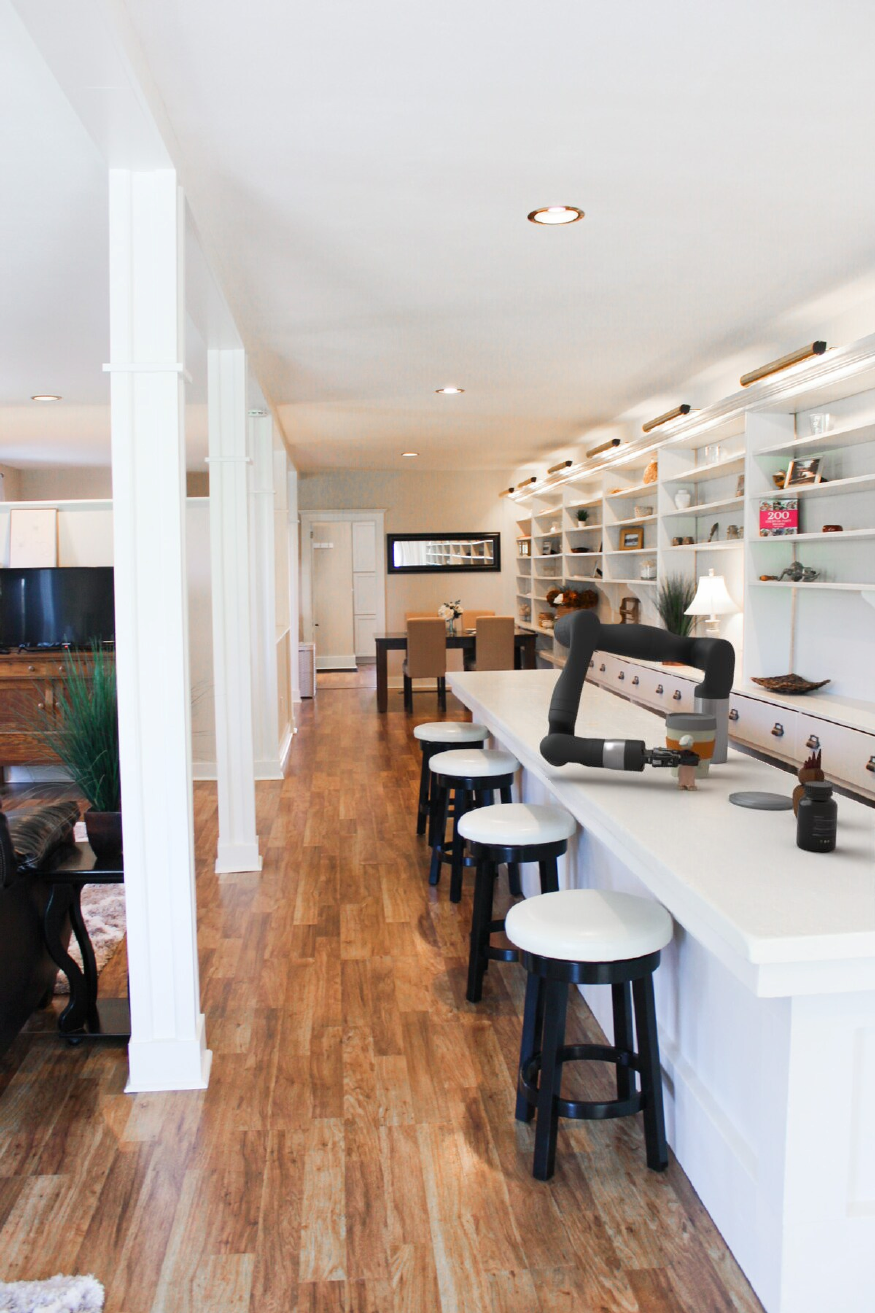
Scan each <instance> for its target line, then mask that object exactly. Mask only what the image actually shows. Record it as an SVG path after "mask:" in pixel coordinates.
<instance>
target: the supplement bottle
mask: <svg viewBox="0 0 875 1313" xmlns="http://www.w3.org/2000/svg"><path fill="white" fill-rule="evenodd" d="M833 789H834V788H833V784H831V783H828V782H825V781H824V782H806V783H805V785H804V794H805V796H803V797H801V798H800V799H799V801H798V811H797V818H796V835H795V836H796V837H795V841H796V842H795V843H796V846H797V848H799V849H801V850H803V851H806V852H809V853H816V854H827V853H832V852H834V851H835V850H836V848H837V834H838V833H837V831H838V830H837V828H838V811H839V810H838V808H839V807H838V805H839V804H838V803H837V801H836V800H835V799H834V798H832V796H833V795H834V792H833Z"/></svg>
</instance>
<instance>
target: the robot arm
mask: <svg viewBox="0 0 875 1313" xmlns="http://www.w3.org/2000/svg"><path fill="white" fill-rule="evenodd" d="M553 635H554V637H555V639H556V641H557V642H558V644H560V645H561V646H562V647H564V648H566V649H569V650H568V654H567V658H566V661H565V664H564V666H563V668H562V671H561V672H560V675H559V677H558V679H557V680H556V682H555V684H554V685H555V686H554V688H553V691H552V694H551V699H550V704H549V707H548V708H549V709H548V714H547V715H548V716H547V721H548V733H547V735H546V736H544V737H543V738H542V739H541V740H540V743H539V753H540V755H541V756H542V758H544V760H545V761H546V762H547V763H548V764H549V765H551V766H553V767H556V768H558V767H564V766H566V765H567V764H569V763H570V764H580V765H581V766H584V767H588V768H598V769H607V770H608V769H609V770H613V771H622V772H623V771H624V772H637V773H639V772H640V773H642V772H644V770H645V767H646V765H651V767H652V768H654V769H656V768H670V767H674V768H676V767H678V766H681V764H682V765H684V766H698V763H699V758H698V757H700V755H699V754H697V753H696V754H697V756H698V757H697V756H683V755H675V754H674V753H676V752H677V751H680V750H676V749H668V748H667V747H661V746H659V747H656V746H655V747H653V748H652V749H647V748H646V747H647V746H646V741H645V740H643V739H629V738H628V739H627V738H600V737H599V738H597V737H596V738H594V737H583V736H582V737H581V736H576V735H575V734H576V733H575V732H576V722H577V718H578V713H579V708H580V702H581V696H582V692H583V688H584V684H585V680H586V677H587V674H588V670H589V667H590V665H591V662H592V659H593V656H594V653H595V651H596V652H597V651H598V652H603V653H608V654H612V655H616V656H621V657H626V658H629V659H630V658H631V659H634V660H639V661H645V662H653V663H677V664H680V665H684V666H687V667H691V668H694V669H696V670H699V671H703V672H704V676H703V677H704V678H703V681H702V682H701V683H700V684H696V686H694V689H693V713H702V714H709V715H713V716H716V722H717V729H716V730H715V736H714V739H715V746H714V752H713V757H712V758H711V759H710V764H719V763H720V764H721V763H726V762H728V750H729V746H728V745H729V724H730V721H729V720H730V719H729V718H730V697H731V696H730V694H731V692H732V691H731V690H732V689H733V687H734V686H733V685H734V679H735V678H734V677H735V670H736V669H735V667H736V653H735V648H734V646H733V643H732V642H730V641H729V640H727V639H725V638H720V637H719V638H718V637H708V636H707V637H704V636H703V637H702V636H701V637H700V636H698V637H697V636H683V635H678V634H675V633H673V632H671V631H669V630H667V629H663V628H662V627H658V626H652V625H648V624H644V623H643V624H642V623H629V622H628V623H601V620H600V618H599V616H598V615H597V613H596V612H594V611H593V610H591V609H588V608H582V609H577V610H574V611H572V612H569V613H566V614H564V615H563V616H561V617H560V618H558V620H556V621H555V624H554V626H553ZM672 759H673V762H672Z"/></svg>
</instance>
